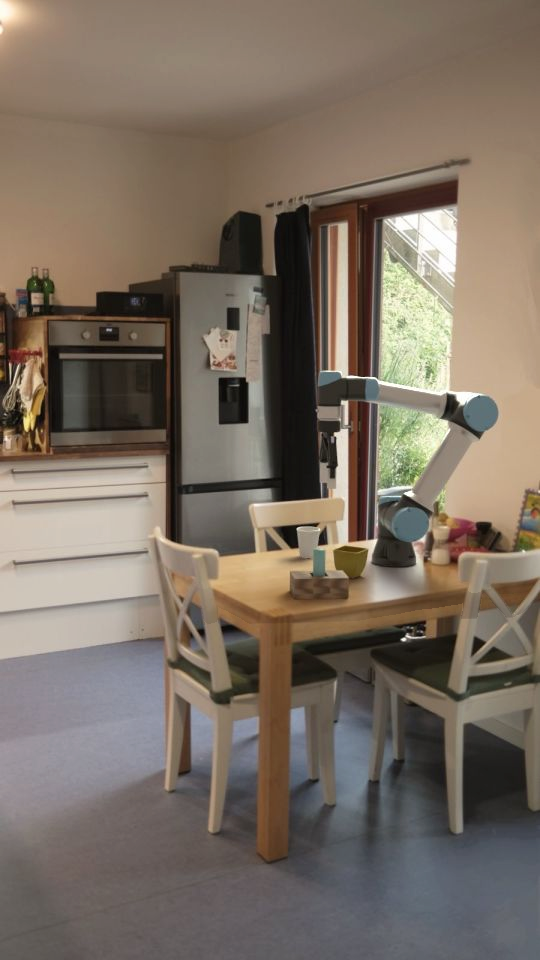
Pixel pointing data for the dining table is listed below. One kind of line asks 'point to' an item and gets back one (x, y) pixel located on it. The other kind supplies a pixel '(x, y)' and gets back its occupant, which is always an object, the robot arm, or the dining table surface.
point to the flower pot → (350, 560)
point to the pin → (319, 562)
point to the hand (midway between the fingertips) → (327, 485)
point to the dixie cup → (307, 540)
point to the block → (319, 585)
